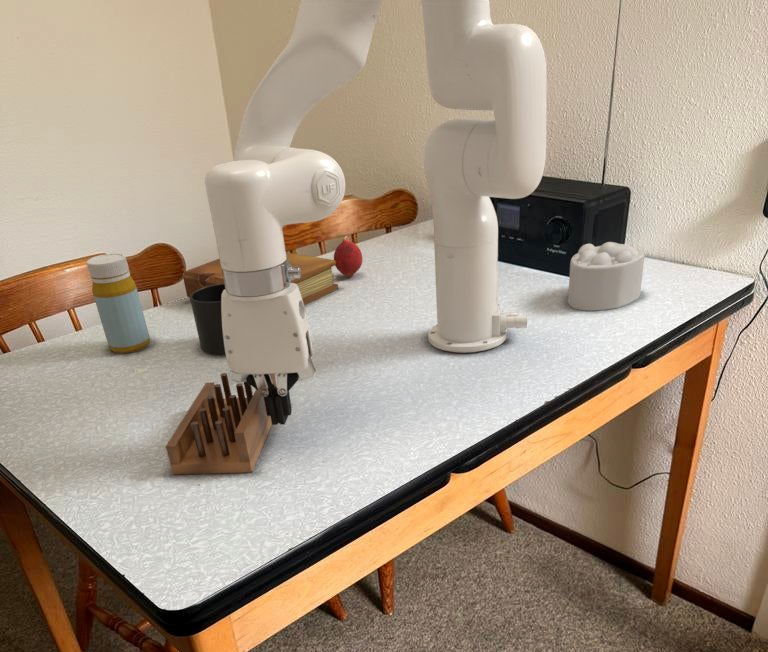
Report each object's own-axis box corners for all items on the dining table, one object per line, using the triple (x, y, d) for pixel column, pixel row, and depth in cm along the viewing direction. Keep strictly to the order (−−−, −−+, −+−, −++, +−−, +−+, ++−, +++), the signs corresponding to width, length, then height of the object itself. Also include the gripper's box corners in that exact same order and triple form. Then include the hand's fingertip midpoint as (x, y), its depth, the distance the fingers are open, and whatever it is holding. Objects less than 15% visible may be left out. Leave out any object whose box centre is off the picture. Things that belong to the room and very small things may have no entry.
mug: (229, 365, 120) (217, 310, 115) (191, 347, 128) (178, 294, 123) (277, 346, 125) (268, 292, 120) (237, 330, 133) (227, 279, 128)
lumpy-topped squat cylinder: (648, 294, 132) (654, 243, 127) (602, 315, 125) (607, 263, 120) (598, 283, 138) (602, 234, 134) (552, 302, 132) (555, 252, 127)
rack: (280, 405, 107) (273, 366, 103) (252, 472, 92) (243, 429, 88) (211, 408, 108) (202, 369, 104) (173, 474, 93) (161, 431, 90)
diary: (188, 301, 148) (181, 272, 145) (256, 274, 160) (251, 246, 157) (271, 320, 136) (266, 288, 133) (338, 288, 148) (335, 259, 144)
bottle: (129, 356, 126) (103, 267, 118) (101, 350, 130) (74, 263, 121) (159, 341, 131) (136, 254, 123) (131, 336, 134) (108, 251, 126)
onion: (363, 280, 151) (359, 239, 146) (334, 282, 151) (330, 241, 146) (364, 271, 155) (360, 231, 151) (336, 273, 156) (332, 233, 151)
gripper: (325, 265, 90) (341, 405, 100) (203, 272, 91) (232, 408, 102) (314, 286, 83) (333, 432, 94) (184, 292, 85) (217, 435, 95)
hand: (280, 419), depth 98 cm, fingers closed
